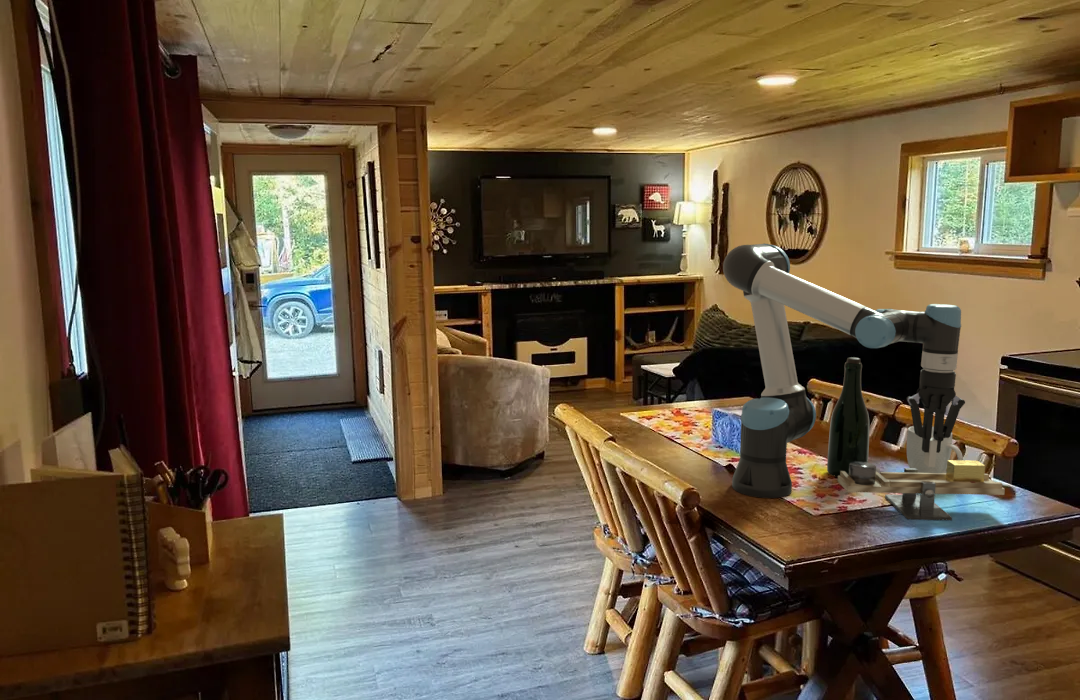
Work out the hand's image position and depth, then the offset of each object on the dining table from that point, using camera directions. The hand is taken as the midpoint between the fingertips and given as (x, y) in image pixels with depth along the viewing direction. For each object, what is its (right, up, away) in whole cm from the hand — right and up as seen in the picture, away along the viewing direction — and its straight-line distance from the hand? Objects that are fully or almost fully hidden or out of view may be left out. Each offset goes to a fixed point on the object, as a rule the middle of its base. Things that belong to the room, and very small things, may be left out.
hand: (929, 465), depth 188 cm
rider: (+8, -4, 0) cm, 9 cm away
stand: (-2, -11, +2) cm, 11 cm away
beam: (-2, -5, +1) cm, 5 cm away
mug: (+13, -7, +25) cm, 29 cm away
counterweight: (-16, -4, +2) cm, 16 cm away
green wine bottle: (-9, -7, +28) cm, 30 cm away
